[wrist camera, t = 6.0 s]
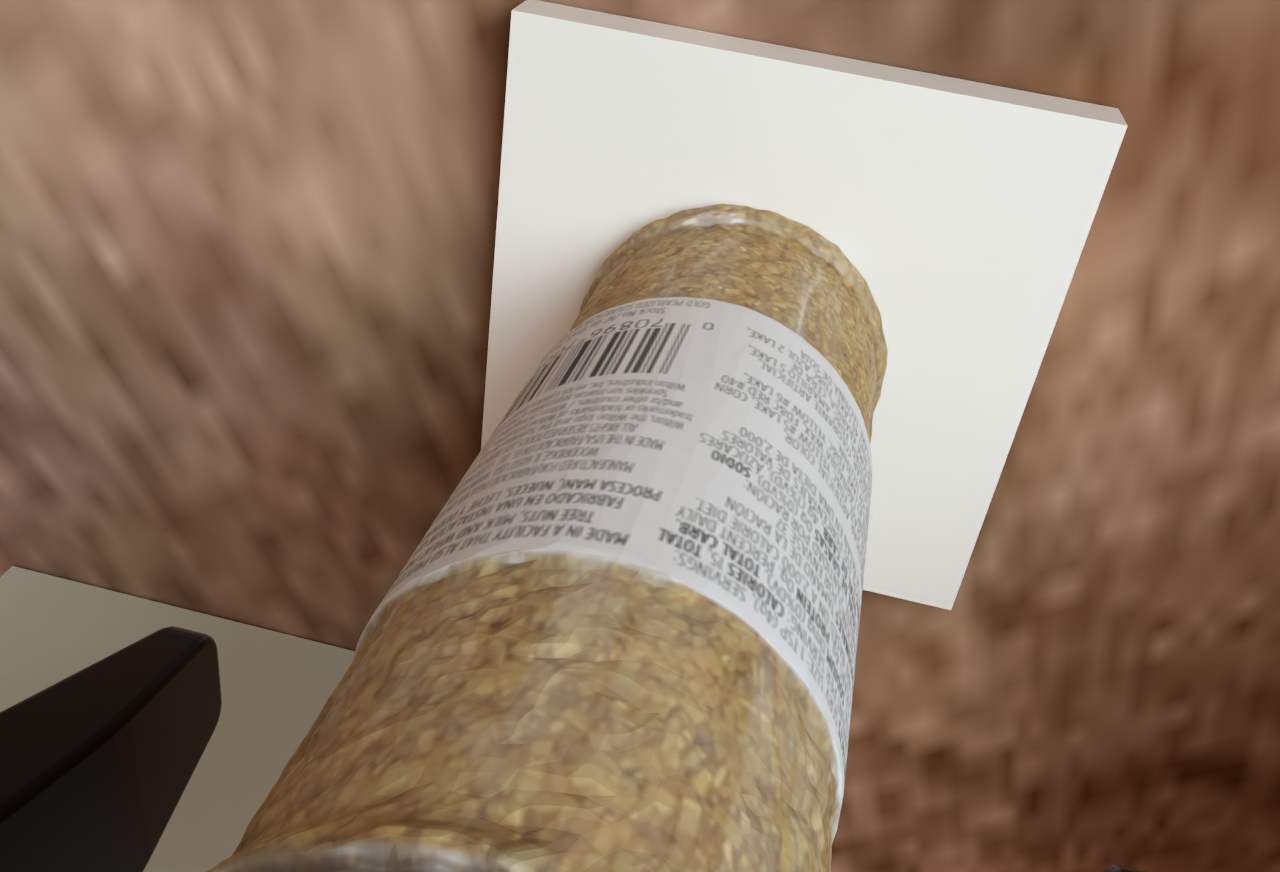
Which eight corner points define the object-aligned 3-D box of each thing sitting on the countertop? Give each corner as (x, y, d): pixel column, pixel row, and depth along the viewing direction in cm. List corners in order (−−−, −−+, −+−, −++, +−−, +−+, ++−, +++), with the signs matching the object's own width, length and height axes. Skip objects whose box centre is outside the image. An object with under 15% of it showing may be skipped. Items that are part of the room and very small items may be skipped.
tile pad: (1118, 107, 15) (1127, 125, 14) (949, 580, 19) (950, 609, 19) (528, -2, 16) (511, 10, 15) (492, 474, 20) (477, 499, 19)
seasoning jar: (625, 486, 19) (135, 1608, 7) (550, 218, 17) (-288, 1197, 5) (914, 460, 17) (864, 1796, 6) (870, 164, 15) (666, 1330, 4)
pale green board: (574, 705, 23) (371, 1275, 14) (563, 775, 24) (370, 1344, 15) (12, 565, 24) (-479, 1014, 15) (26, 637, 25) (-425, 1094, 16)
